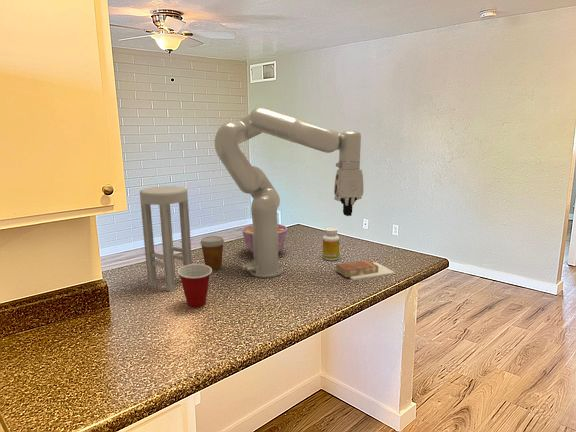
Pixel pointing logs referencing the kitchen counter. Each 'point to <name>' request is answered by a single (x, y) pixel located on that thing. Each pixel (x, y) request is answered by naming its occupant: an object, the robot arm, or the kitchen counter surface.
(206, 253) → the disposable coffee cup
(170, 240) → the stool
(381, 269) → the mat
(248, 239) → the bowl of food
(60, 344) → the kitchen counter surface
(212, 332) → the kitchen counter surface
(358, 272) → the slab
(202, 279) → the plastic cup
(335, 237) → the supplement bottle
